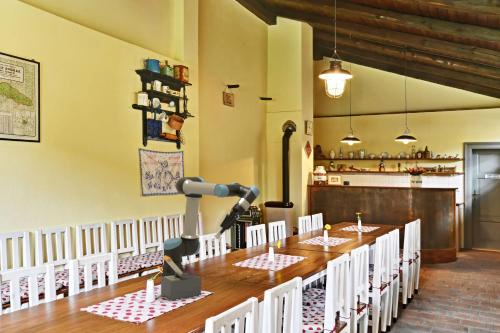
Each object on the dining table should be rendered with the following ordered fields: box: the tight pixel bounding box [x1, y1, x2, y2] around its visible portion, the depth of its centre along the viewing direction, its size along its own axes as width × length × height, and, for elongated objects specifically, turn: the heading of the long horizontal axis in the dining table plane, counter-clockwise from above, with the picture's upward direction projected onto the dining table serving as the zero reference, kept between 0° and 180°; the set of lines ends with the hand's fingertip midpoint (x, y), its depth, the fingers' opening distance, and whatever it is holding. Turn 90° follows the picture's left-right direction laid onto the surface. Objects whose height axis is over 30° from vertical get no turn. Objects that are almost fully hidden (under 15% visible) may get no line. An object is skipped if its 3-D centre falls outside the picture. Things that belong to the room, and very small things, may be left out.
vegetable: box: [184, 262, 198, 276], centre depth 267 cm, size 10×10×15 cm
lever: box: [162, 255, 183, 277], centre depth 244 cm, size 7×2×14 cm
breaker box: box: [160, 272, 202, 301], centre depth 246 cm, size 13×18×13 cm
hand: (216, 237), depth 258 cm, fingers closed
